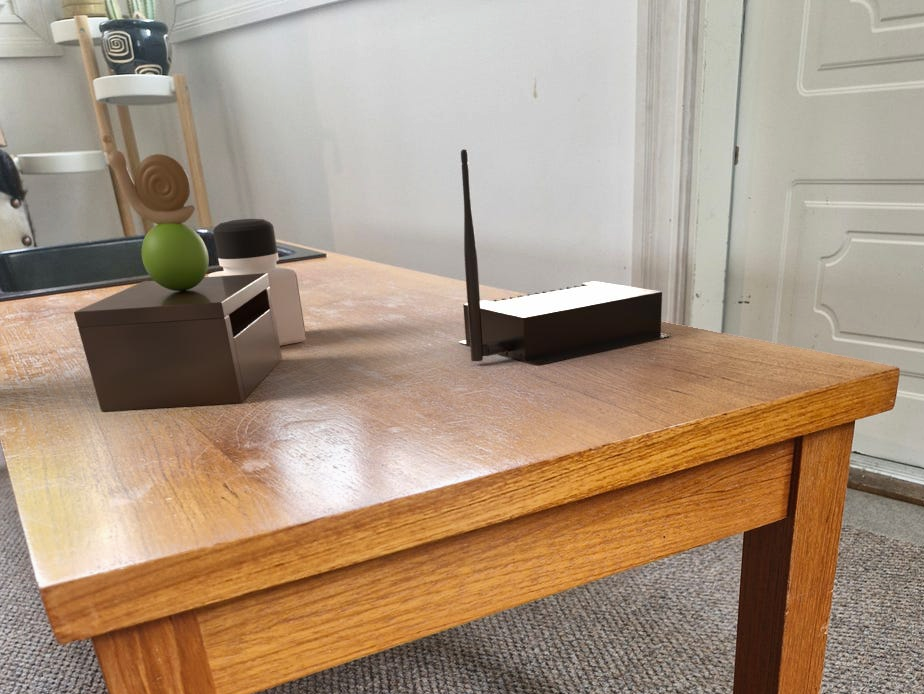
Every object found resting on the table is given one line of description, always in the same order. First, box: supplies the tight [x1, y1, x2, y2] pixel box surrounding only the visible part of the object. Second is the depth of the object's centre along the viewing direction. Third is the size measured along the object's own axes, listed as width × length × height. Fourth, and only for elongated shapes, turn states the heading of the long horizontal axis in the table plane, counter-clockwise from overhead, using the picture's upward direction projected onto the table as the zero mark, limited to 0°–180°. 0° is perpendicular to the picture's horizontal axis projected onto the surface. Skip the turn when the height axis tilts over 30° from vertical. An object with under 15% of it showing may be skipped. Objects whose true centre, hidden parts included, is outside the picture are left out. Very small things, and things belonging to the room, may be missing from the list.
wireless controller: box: [459, 148, 672, 366], centre depth 83 cm, size 20×14×17 cm
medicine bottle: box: [207, 218, 307, 347], centre depth 93 cm, size 7×7×12 cm
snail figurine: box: [102, 134, 210, 291], centre depth 75 cm, size 5×6×12 cm
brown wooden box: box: [73, 273, 283, 412], centre depth 80 cm, size 12×16×8 cm
